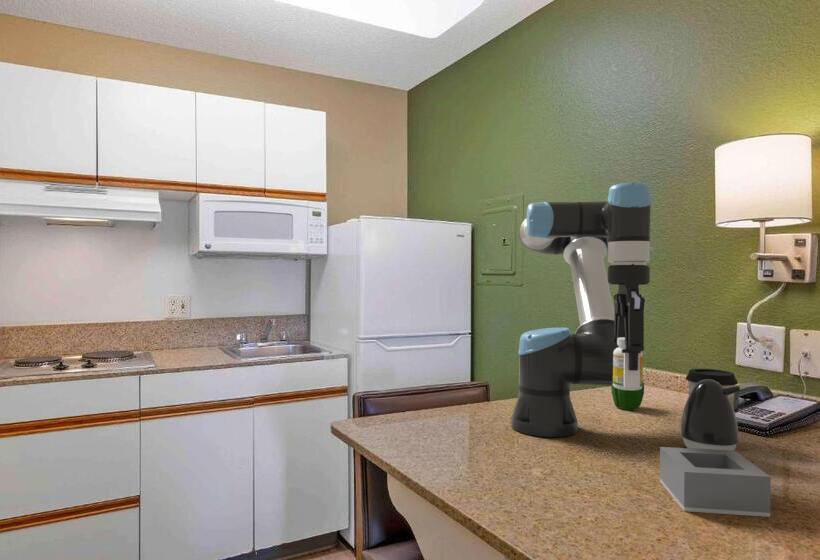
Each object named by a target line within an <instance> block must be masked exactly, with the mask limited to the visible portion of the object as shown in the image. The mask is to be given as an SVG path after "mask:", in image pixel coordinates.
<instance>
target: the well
mask: <svg viewBox="0 0 820 560" xmlns="http://www.w3.org/2000/svg"><path fill="white" fill-rule="evenodd" d="M659 481H660V483H661V484H662V486H663V487H664V488H665V489H666V491H667V493H669V494H670V496H671V497H672V498H673V499H674V501H675V502H676V504H678V506H679V507H680V508H681V509H682V510H683V512H689V513H691V512H692V513H693V512H694V513H707V514H720V515H734V516H735V515H736V516H752V517H764V518H770V517H771V494H772V493H771V491H772V490H771V485H772V484H771V481H772V477H771V475H769V474H767V473H766V472H765V471H763V470H762V469H760V468H759V467H758V466H757V465H755V464H754V463H752V462H751V461H750V460H748V459H747V458H745V457H744V456H743V455H741V454H740V453H738V452H737V451H736V450H734V451H733V450H713V449H693V448H687V447H669V446H668V447H667V446H659Z"/></svg>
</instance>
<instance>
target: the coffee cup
mask: <svg viewBox="0 0 820 560" xmlns="http://www.w3.org/2000/svg"><path fill="white" fill-rule="evenodd" d="M705 379H711V380H714V381H717V382H718V383H720V384H721V385H722V387H723V388H729V387H734V386H737V385H738V384H739V383H738V379H737V378H736V376H735V373H734V372H731V371H727V370H722V369H713V368H692V369H691V368H690V369H689V371H688V374H687V375H686V376H685V380H686V381H687V383H688V396H689V395H690V393H691V391H692V389H693V387H694V386H695V385H696V384H697V383H698V382H699V381H701V380H705ZM728 397H729V399H730V401H731V403H732V406H733V407H734V403H735V393H733V394H730V395H728Z"/></svg>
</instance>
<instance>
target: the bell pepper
mask: <svg viewBox="0 0 820 560" xmlns="http://www.w3.org/2000/svg"><path fill="white" fill-rule="evenodd" d="M610 386H611V395H612V400H613V403H614V405H615V407H616V408H619V409H623V410H626V411H636V410H638V409H639V408H640V406H641V405H642V403H643V398H644V395H645V385H644V381H643V380H642V389H640V390H621V389H617V388H615V387H614V386H612V385H610Z"/></svg>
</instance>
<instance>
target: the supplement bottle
mask: <svg viewBox="0 0 820 560" xmlns="http://www.w3.org/2000/svg"><path fill="white" fill-rule="evenodd" d="M617 345H618V346H619V348H616V349H615V350H614V352H613V386H614V387H615V388H617V389H621V390H640V389H642V381H643V370H644V367H643V366H644V365H643V363H644V353H643V351H641V353H640V388H632V387H624V353H622V349H625V348H626V346H625V337H621V338H617Z"/></svg>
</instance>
